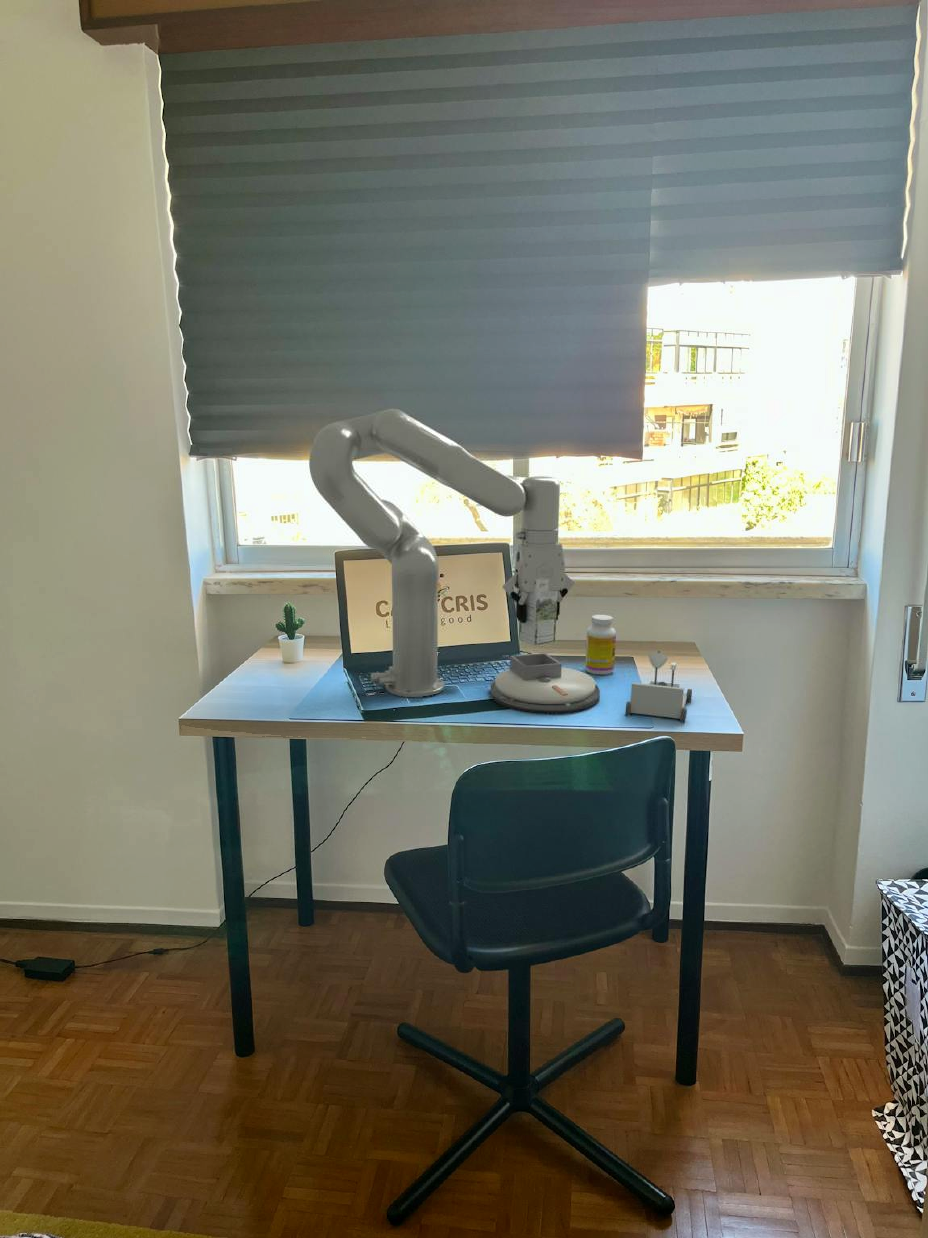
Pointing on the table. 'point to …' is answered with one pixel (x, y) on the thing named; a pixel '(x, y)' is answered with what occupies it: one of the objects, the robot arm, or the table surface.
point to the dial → (543, 681)
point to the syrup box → (539, 615)
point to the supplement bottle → (600, 646)
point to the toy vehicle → (659, 694)
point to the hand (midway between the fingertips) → (537, 619)
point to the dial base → (545, 708)
